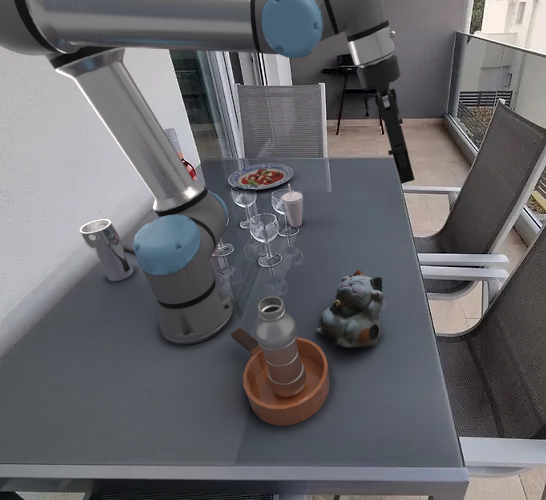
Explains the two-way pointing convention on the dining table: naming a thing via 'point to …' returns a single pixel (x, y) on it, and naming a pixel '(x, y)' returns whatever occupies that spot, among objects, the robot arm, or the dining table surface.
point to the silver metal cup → (107, 248)
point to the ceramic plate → (261, 176)
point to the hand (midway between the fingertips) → (404, 167)
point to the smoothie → (293, 207)
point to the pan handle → (246, 341)
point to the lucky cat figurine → (354, 312)
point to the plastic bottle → (280, 348)
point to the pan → (295, 406)
